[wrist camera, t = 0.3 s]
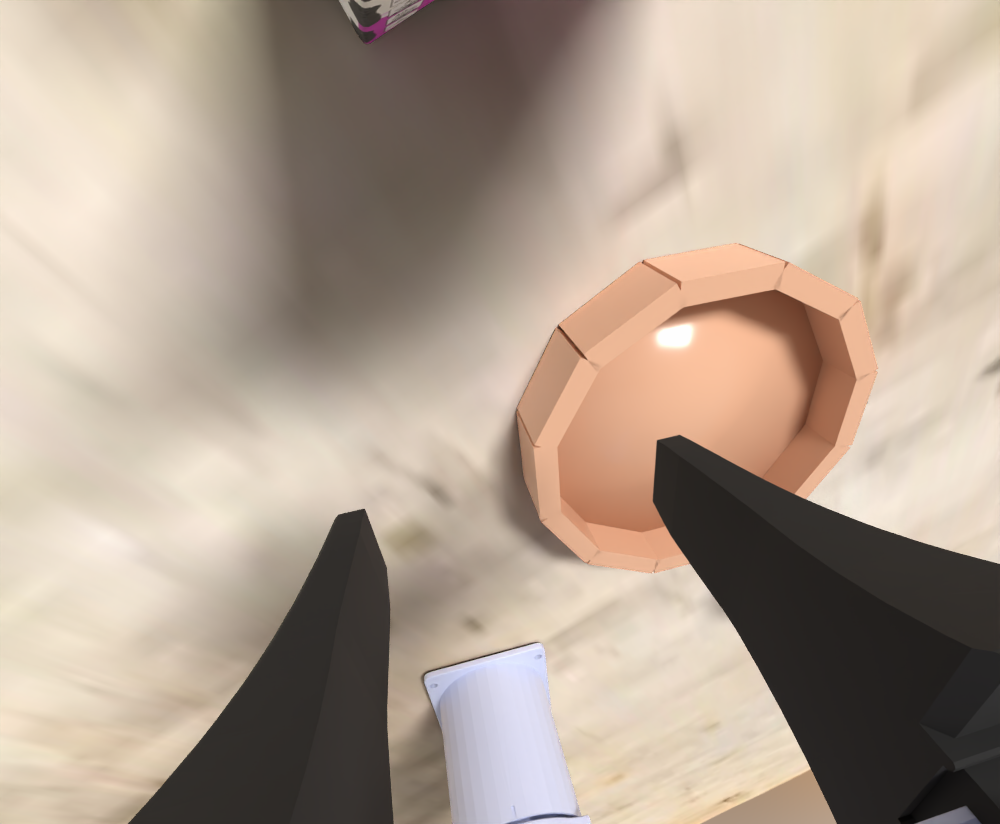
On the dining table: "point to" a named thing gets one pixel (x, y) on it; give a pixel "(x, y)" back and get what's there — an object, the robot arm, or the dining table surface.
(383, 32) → the candy bar box
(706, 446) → the bowl
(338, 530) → the robot arm
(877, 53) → the dining table surface
